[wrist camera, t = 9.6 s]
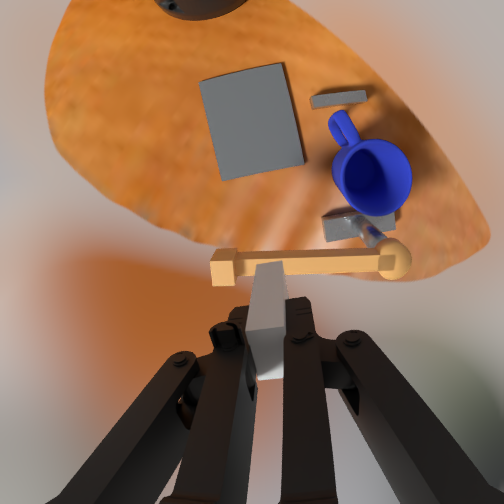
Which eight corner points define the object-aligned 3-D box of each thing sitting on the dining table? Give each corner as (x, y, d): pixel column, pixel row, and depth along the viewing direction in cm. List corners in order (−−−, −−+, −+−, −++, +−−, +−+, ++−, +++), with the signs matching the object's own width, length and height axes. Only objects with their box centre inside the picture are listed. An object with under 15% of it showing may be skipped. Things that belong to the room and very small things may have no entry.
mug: (349, 104, 35) (372, 92, 25) (392, 181, 38) (423, 194, 29) (297, 133, 37) (305, 129, 28) (343, 210, 40) (363, 230, 31)
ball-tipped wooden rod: (219, 277, 30) (213, 291, 27) (215, 242, 29) (209, 254, 26) (402, 270, 29) (413, 284, 26) (405, 237, 27) (418, 248, 24)
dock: (298, 100, 35) (307, 82, 24) (370, 91, 34) (406, 74, 22) (324, 237, 41) (341, 275, 30) (390, 225, 40) (428, 257, 28)
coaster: (199, 83, 35) (198, 82, 35) (281, 64, 34) (281, 63, 33) (222, 180, 40) (222, 181, 39) (304, 164, 38) (304, 164, 38)
